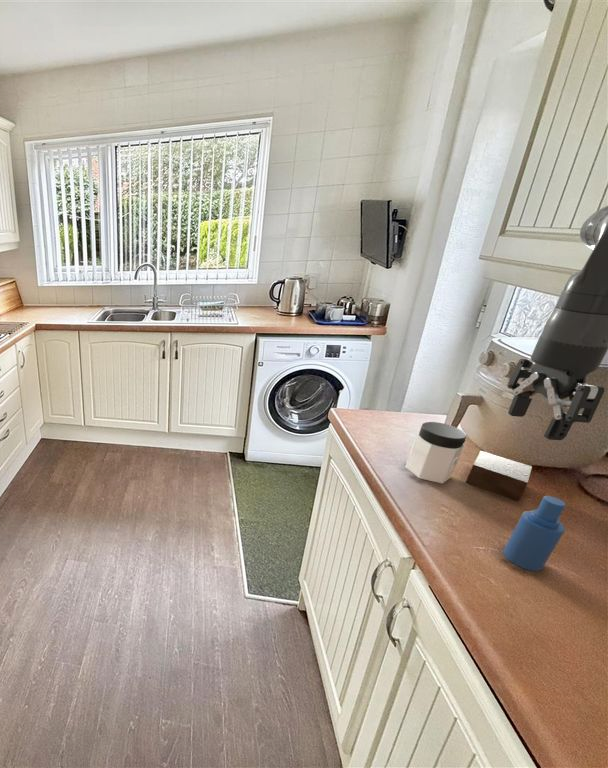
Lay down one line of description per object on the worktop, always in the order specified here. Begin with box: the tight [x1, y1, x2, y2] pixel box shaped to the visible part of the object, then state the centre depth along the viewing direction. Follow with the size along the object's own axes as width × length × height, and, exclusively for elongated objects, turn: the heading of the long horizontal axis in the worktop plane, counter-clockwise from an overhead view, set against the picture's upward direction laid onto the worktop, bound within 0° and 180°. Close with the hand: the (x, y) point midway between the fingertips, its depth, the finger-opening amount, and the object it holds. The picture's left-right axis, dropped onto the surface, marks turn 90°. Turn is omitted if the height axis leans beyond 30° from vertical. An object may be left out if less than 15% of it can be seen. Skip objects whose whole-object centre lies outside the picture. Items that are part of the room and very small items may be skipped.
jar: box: [405, 421, 467, 485], centre depth 96 cm, size 9×8×12 cm
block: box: [465, 450, 533, 502], centre depth 93 cm, size 9×9×5 cm
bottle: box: [502, 495, 567, 572], centre depth 71 cm, size 5×5×14 cm
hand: (533, 426), depth 71 cm, fingers open, 8 cm apart
